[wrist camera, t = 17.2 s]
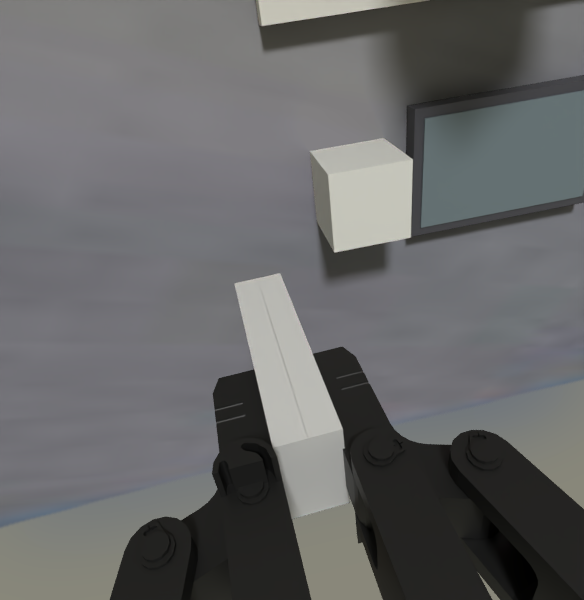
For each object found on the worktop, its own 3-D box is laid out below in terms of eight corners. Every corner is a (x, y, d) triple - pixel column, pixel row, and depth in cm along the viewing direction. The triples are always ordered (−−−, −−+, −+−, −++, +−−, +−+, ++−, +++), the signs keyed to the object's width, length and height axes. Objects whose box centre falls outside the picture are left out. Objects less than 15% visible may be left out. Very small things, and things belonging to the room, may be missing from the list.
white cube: (316, 220, 26) (334, 252, 23) (309, 150, 24) (328, 174, 21) (393, 206, 27) (422, 235, 23) (393, 136, 25) (425, 157, 21)
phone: (402, 229, 28) (410, 237, 27) (404, 106, 24) (413, 110, 23) (575, 196, 29) (588, 202, 28) (604, 71, 25) (620, 74, 24)
